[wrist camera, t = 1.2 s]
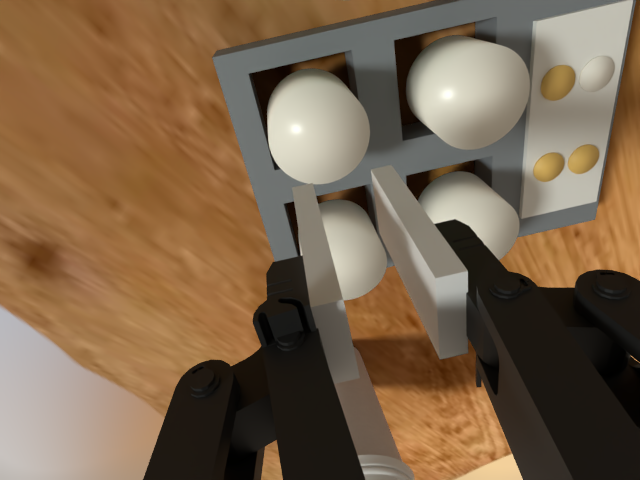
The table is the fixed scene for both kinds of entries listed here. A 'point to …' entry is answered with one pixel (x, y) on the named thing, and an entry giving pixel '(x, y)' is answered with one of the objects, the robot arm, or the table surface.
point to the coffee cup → (370, 429)
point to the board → (422, 143)
